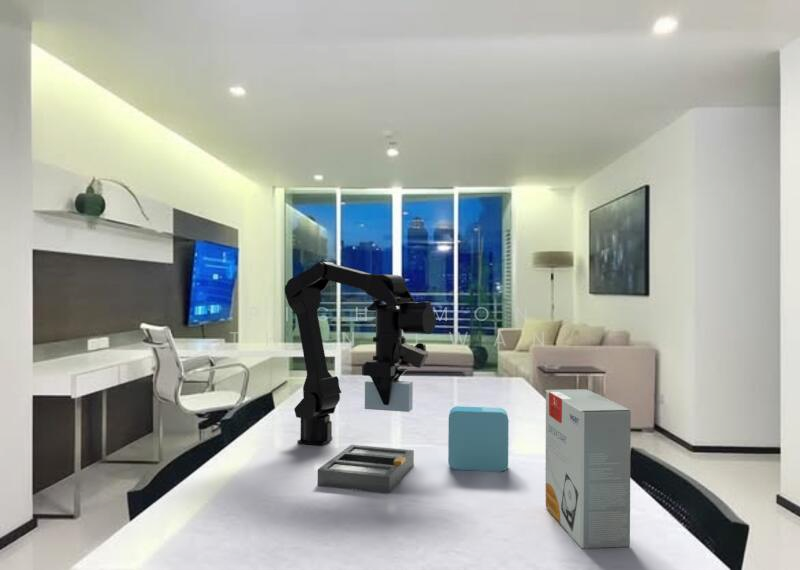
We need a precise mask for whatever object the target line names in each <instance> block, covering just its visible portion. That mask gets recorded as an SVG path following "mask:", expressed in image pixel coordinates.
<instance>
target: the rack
mask: <svg viewBox="0 0 800 570" xmlns="http://www.w3.org/2000/svg"><path fill="white" fill-rule="evenodd" d="M414 452H415V451H414V449H403V448H391V447H380V446H372V445H371V446H370V445H369V446H368V445H361V444H360V445H359V444H358V445H356V444H350V445H349V446H347V447H346V448H345V449H343V450H342V451H341V452H339V453H338V454H337V455H335V456H334V457H332V458H331V459H329V460H328V461H327V462H325V463H324V464H323V465H322V466H320V467H318V468H317V486H318V487H326V488H336V489H344V490H353V491H363V492H372V493H379V494H380V493H381V494H387V495H388V494H390V493H392V491H393V490H394V489H395V487H396V486H397V485H398V484H399V482H401V480H403V478H404V477H405V476H406V475H407V474H408V472H409V471H410V470H411V468H412V467H413V466H414V463H415V461H414V460H415V453H414Z"/></svg>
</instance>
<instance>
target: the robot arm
mask: <svg viewBox="0 0 800 570" xmlns="http://www.w3.org/2000/svg"><path fill="white" fill-rule="evenodd" d="M331 282H334V283H337V284H341V285H345V286H348V287H352V288H355V289H358V290H361V291H363V292H364V293H365V294H366V295H367V296H369V297H371V298H373V299H375V300H373V302H372V304H370V305H369V306H368V307H367V311H369V312H370V311H371V312H375V336H373V337H372V342H373V343H375V354H374V355H373V356H372V359H370V360H367V361H365V362H364V363H363V364H362V366H361V375H362V376H365V377H367V376H368V377H370V378H371V379H370V380H372V381H373V383H374V385H375V387H376V389H377V391H378V393H379V395H380V398H381V400H382V402H383V404H384V405H389V401H390V395H391V388H392V382H393V381H400V378H401V377H402V376H403V374H405V372H407V371H408V369H407V368H402V366H406V367H408V368H409V367H412V366H413V367H414V368H418V369H421V368H422V367H424V366H425V363H426V360H427V358H429V351H428V350H427V347H426V344H424V343H422V342H418V343H417V344H415V345H413V344H408V343H407V342H406V340H407V339H406V337H405V335H403V332H404V333H407V334H421V335H430V334H432V333H433V332H434V331H435V328H436V324H437V317H436V316H435V315H436V314H435V311H434V309H433V308H432V307H431V305H432V303H431V301H419V302H418V301H417V302H416V301H415V298H414V297H413V296H412V294H411V293H410V291H409V289H408V287H407V283H406V281H405V278H404V277H403V276H401V275H398V274H380V273H379V274H376V273H369V272H365V271H361V270H358V269H354V268H349V267H346V266H342V265H338V264H335V263H334V262H331V261H318V262H316V263H315V264H314V265H313V266H311V267H310V268H307V269H306V270H304V271H302V272H300V273H299V274H297V275H296V276H294V277H291V278H290V279H288V281H287V283H286V284H285V285H284V295H285V298H286V300H287V304H288V306H289V308H290V309H291V310H292V311H293V313H294V314H295V315H296V316H295V317H296V318H297V324H298V325H297V326H298V330H299V331H298V332H299V335H300V341H301V347H302V353H303V359H304V366H305V371H306V377H305V380H304V384H303V387H302V393H303V395H302V396H303V398H302V399H301V400H300V401H299V403H298V404H296V406H295V407H294V414H295V417H296V418H297V419H300V439H298V440H297V441H296V442H297V444H302V445H303V444H304V445H314V446H323V445H325V444H327V443H328V442H330V441H331V440H332V439H333V436H332V434H333V433H332V431H333V430H332V429H333V428H332V425H333V424H332V423H333V422H332V421H331V415H330V414H334V413H335V411H336V407H337V405H338V404H339V402H340V399H341V394H342V390H341V388H340V380H339V377H338V376H332V374H331V373H330V372H329V370H328V365H327V360H326V354H325V349H324V341H323V338H322V332H321V326H320V321H319V316H318V315H319V314H318V311H319V308H320V305H321V301H322V298H321V295H322V294H321V293H322V292H323V291H324V290H325V289H327V288H328V286H329V284H330V283H331ZM383 302H384V303H383ZM398 307H399V308H398Z"/></svg>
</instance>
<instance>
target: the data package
mask: <svg viewBox="0 0 800 570" xmlns="http://www.w3.org/2000/svg"><path fill="white" fill-rule="evenodd" d="M447 443H448V445H447V446H448V450H447V451H448V454H447V455H448V456H447V460H448V465H449V467H450V468H452V469H453V470H458V471H476V472H477V471H478V472H479V471H481V472H499V473H500V472H505V471H506V470H507V468H508V467H509V416H508V413H507V411H506V410H505V409H504V408H501V407H485V406H483V407H482V406H462V405H461V406H460V405H459V406H457V405H456V406H453V407H452V408H451V409H450V410H449V414H448V442H447Z"/></svg>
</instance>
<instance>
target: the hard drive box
mask: <svg viewBox="0 0 800 570" xmlns="http://www.w3.org/2000/svg"><path fill="white" fill-rule="evenodd" d="M631 413H632V411H631V409H630V408H627V407H625V406H624V405H621V404H619V403H617V402H614V401H612V400H611V399H608V398H606V397H603V396H601V395H600V394H597V393H595V392H593V391H591V390H589V389H585V388H584V389H580V388H579V389H577V388H576V389H545V507H546V508H547V509H548V511H549V512H550V514H551V515H552V517H553V518H554V519H556V520H557V521H558V523H559V524H561V527H563V528H564V530H565V531H566V532H567V533H568V535H569V537H570V538H571V539H573V541H575V543H576V544H577V545H578V546H579V547H580V548H581V549H596V548H602V549H603V548H625V547H626V548H627V547H628V548H629V547H630V545H631V543H630V542H631V445H632V444H631V440H632V439H631V433H632V432H631V428H632V427H631V424H632V423H631V421H632V420H631V415H632V414H631Z"/></svg>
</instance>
